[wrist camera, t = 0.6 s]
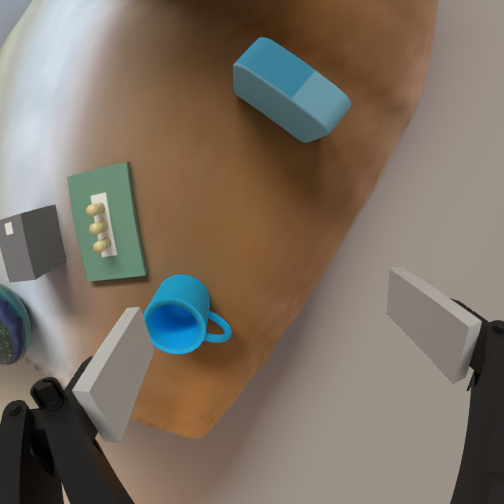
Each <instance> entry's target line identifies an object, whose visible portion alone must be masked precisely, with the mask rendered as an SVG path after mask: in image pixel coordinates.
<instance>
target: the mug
mask: <svg viewBox="0 0 504 504" xmlns="http://www.w3.org/2000/svg"><path fill="white" fill-rule="evenodd" d="M209 309H210V295H209V293H208V291H207V288H206V287H205V286H204V285H203V284H202V283H201V282H200V281H199V280H197V279H196V278H194V277H191V276H188V275H174V276H171V277H168V278H167V279H166V280H165V281H163V282H162V284H161V285H160V287H159V288H158V290H157V292H156V293H155V295H154V297H153V298H152V300H151V302H150V303H149V305H148V307H147V308H146V310H145V312H144V314H143V318H144V321H145V324H146V328H147V331H148V334H149V337H150V340H151V343H152V344H153V345H154V346H155V347H157V348H158V349H160V350H162V351H164V352H167V353H171V354H185V353H189V352H192V351H193V350H195V349H196V348H198V347H199V346H200V345H201V343H202V342H203V341H208V342H214V343H220V342H225V341H227V340H229V339H230V337H231V335H232V330H231V327H230V326H229V324H228V323H227V322H226V321H225V320H224V319H223V318H221V317H220V316H219V315H217V314H215V313H214V312H212V311H210V310H209ZM208 318H209V319H211V320H212V321H214V322H215V323H217V324H218V325H219V326H220V327H221V328H222V329H223V330H224V332H225V334H222V335H216V334H210V333H207V332H206V328H207V322H208Z"/></svg>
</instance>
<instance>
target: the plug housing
mask: <svg viewBox="0 0 504 504" xmlns="http://www.w3.org/2000/svg"><path fill="white" fill-rule="evenodd" d="M0 247H1V251H2V256H3V260H4V264H5V267H6V271H7V275H8V278H9V281H10V282H19V281H28V280H36V279H37V278H39V277H40V276H42V275H43V274H45V273H47V272H48V271H50V270H51V269H53V268H55V267H56V266H58V265H59V264H61V263H63V262H64V261H66V256H65V252H64V248H63V243H62V239H61V234H60V229H59V224H58V218H57V212H56V206H55V205H51V206H47V207H43V208H40V209H36V210H32V211H28V212H25V213H21V214H18V215H15V216H11V217H8V218H5V219H2V220H0Z"/></svg>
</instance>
